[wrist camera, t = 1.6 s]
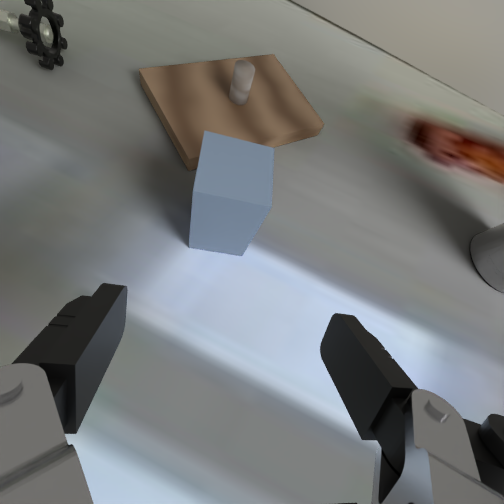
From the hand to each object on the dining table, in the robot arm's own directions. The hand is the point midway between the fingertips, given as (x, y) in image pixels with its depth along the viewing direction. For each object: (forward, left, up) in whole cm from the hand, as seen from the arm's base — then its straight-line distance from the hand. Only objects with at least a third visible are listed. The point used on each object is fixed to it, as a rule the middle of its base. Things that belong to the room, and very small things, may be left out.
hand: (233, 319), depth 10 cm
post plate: (-17, -25, -15) cm, 33 cm away
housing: (-7, -10, -15) cm, 19 cm away
